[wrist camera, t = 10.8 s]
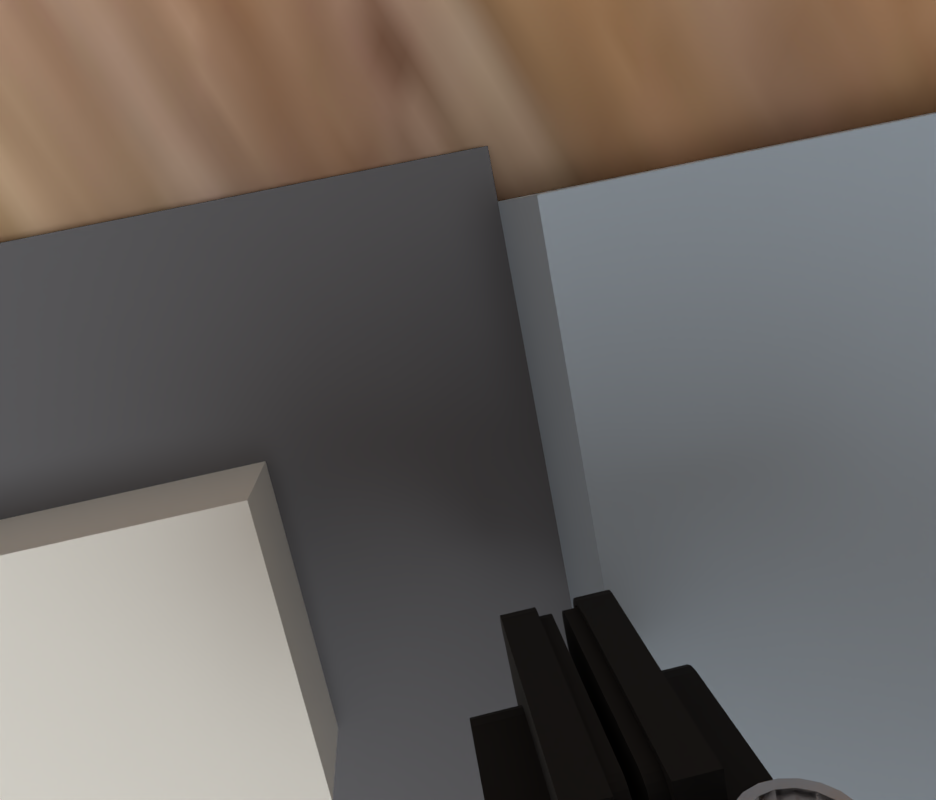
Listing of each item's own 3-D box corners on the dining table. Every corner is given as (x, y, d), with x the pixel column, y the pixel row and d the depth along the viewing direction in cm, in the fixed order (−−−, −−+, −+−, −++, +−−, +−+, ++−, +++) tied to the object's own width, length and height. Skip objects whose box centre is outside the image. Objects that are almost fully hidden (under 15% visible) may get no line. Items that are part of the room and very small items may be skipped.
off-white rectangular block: (-253, 612, 13) (-162, 555, 15) (-114, 913, 14) (-49, 822, 16) (247, 499, 13) (265, 461, 15) (332, 802, 14) (338, 727, 17)
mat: (485, 147, 15) (487, 146, 14) (614, 851, 18) (618, 861, 18) (-297, 303, 14) (-313, 305, 13) (8, 1009, 18) (1, 1022, 17)
